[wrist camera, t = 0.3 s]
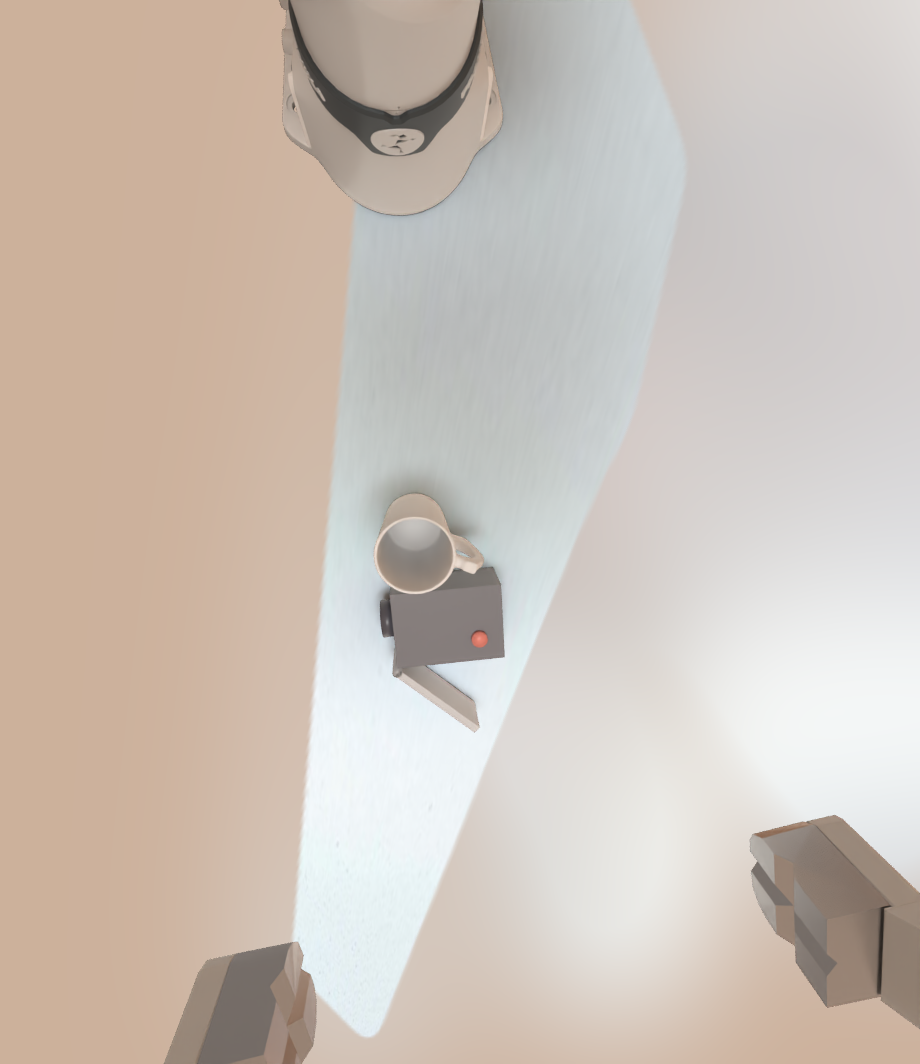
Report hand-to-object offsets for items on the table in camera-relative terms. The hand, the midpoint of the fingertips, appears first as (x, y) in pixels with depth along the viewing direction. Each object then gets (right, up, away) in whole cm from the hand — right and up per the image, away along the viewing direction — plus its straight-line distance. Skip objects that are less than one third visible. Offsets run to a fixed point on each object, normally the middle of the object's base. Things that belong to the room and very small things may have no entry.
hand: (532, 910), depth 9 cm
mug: (-5, +7, +45) cm, 46 cm away
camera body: (-3, -2, +48) cm, 48 cm away
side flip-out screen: (-4, -10, +49) cm, 51 cm away
